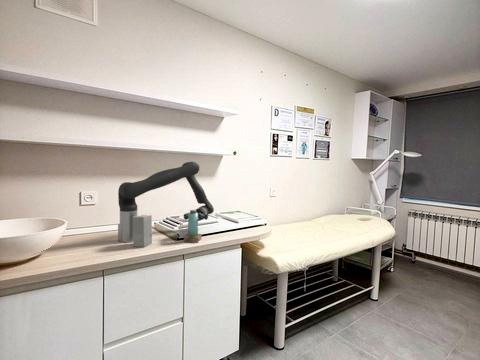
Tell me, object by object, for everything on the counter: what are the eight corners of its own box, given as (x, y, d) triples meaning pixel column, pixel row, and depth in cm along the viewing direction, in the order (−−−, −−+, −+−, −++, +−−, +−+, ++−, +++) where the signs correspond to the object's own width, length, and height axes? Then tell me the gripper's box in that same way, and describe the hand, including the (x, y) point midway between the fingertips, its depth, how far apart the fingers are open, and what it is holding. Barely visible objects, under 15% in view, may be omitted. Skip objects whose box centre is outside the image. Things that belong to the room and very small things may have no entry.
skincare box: (144, 247, 131) (144, 217, 130) (131, 246, 132) (132, 216, 132) (152, 243, 139) (153, 214, 139) (141, 242, 140) (141, 214, 140)
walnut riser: (183, 242, 143) (184, 236, 143) (188, 238, 151) (188, 233, 151) (197, 242, 142) (197, 237, 142) (201, 238, 150) (201, 233, 150)
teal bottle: (186, 236, 144) (187, 211, 143) (189, 233, 149) (189, 209, 149) (196, 236, 143) (196, 211, 143) (198, 234, 149) (199, 209, 148)
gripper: (189, 207, 162) (180, 211, 146) (211, 208, 160) (205, 212, 144) (189, 219, 162) (180, 224, 146) (210, 220, 161) (204, 225, 144)
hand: (192, 218), depth 145 cm, fingers open, 8 cm apart
